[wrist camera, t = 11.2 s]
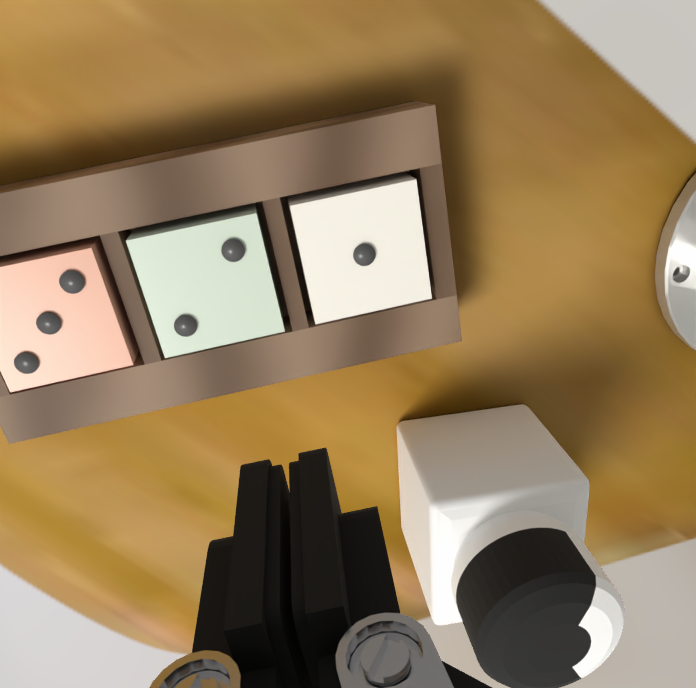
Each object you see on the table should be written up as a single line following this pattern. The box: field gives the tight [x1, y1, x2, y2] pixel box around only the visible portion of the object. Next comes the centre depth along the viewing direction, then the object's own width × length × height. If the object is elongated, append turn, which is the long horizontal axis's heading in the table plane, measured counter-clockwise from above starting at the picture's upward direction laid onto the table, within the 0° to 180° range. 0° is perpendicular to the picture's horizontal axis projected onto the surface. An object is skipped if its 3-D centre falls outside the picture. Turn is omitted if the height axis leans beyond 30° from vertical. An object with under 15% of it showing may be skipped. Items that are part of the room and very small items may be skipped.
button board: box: [0, 101, 462, 444], centre depth 27 cm, size 20×10×3 cm, turn 100°
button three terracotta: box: [0, 235, 139, 392], centre depth 26 cm, size 5×5×2 cm
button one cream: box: [287, 171, 432, 324], centre depth 27 cm, size 5×5×2 cm
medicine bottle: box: [397, 404, 625, 688], centre depth 29 cm, size 7×7×12 cm
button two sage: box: [126, 203, 285, 358], centre depth 26 cm, size 5×5×2 cm
